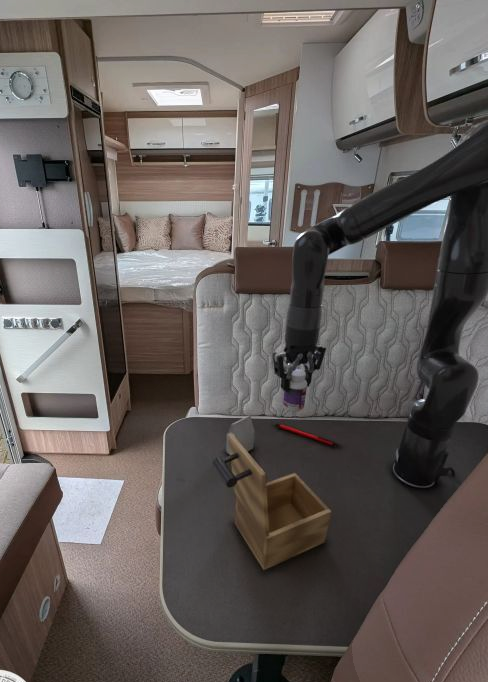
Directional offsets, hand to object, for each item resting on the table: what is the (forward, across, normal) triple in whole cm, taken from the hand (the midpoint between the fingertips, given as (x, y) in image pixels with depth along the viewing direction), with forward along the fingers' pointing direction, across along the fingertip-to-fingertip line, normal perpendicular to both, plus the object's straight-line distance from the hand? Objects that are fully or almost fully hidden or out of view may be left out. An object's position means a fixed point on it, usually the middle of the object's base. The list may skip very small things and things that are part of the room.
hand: (295, 387), depth 90 cm
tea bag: (+20, -12, +6) cm, 24 cm away
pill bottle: (+6, 0, 0) cm, 6 cm away
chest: (+20, -17, -21) cm, 33 cm away
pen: (+21, +9, +4) cm, 23 cm away
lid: (+3, -25, -21) cm, 32 cm away
